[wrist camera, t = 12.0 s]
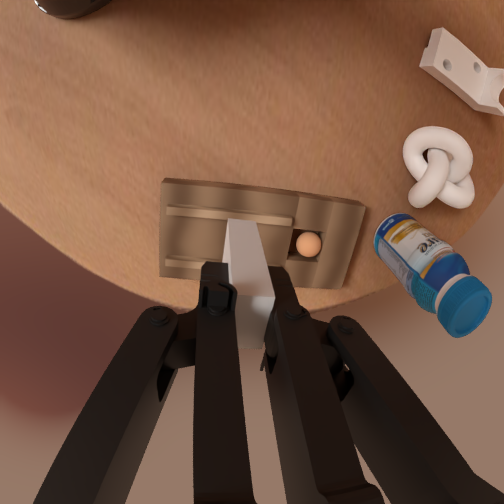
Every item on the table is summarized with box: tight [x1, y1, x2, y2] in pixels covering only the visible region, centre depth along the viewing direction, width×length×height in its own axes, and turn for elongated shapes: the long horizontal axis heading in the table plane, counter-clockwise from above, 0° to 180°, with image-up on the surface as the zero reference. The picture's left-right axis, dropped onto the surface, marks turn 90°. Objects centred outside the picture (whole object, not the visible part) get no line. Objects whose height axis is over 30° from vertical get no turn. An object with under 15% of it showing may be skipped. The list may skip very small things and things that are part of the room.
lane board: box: [159, 178, 366, 289], centre depth 39 cm, size 26×13×4 cm, turn 82°
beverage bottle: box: [374, 213, 492, 338], centre depth 34 cm, size 8×8×20 cm
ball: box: [296, 232, 321, 257], centre depth 41 cm, size 3×3×3 cm
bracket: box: [419, 28, 504, 116], centre depth 28 cm, size 13×7×8 cm, turn 71°
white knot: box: [403, 126, 475, 209], centre depth 34 cm, size 11×12×9 cm
